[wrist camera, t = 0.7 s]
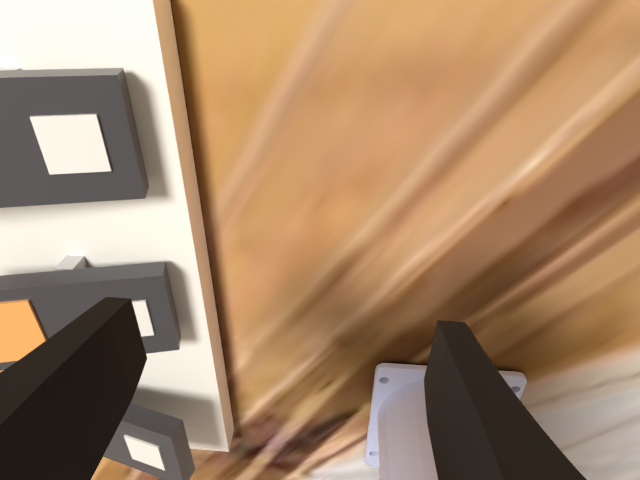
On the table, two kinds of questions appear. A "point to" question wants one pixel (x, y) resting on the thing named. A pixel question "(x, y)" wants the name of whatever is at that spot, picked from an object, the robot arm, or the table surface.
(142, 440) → the rocker far
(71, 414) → the robot arm
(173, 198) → the switch strip
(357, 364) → the table surface
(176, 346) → the rocker middle
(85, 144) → the rocker near
